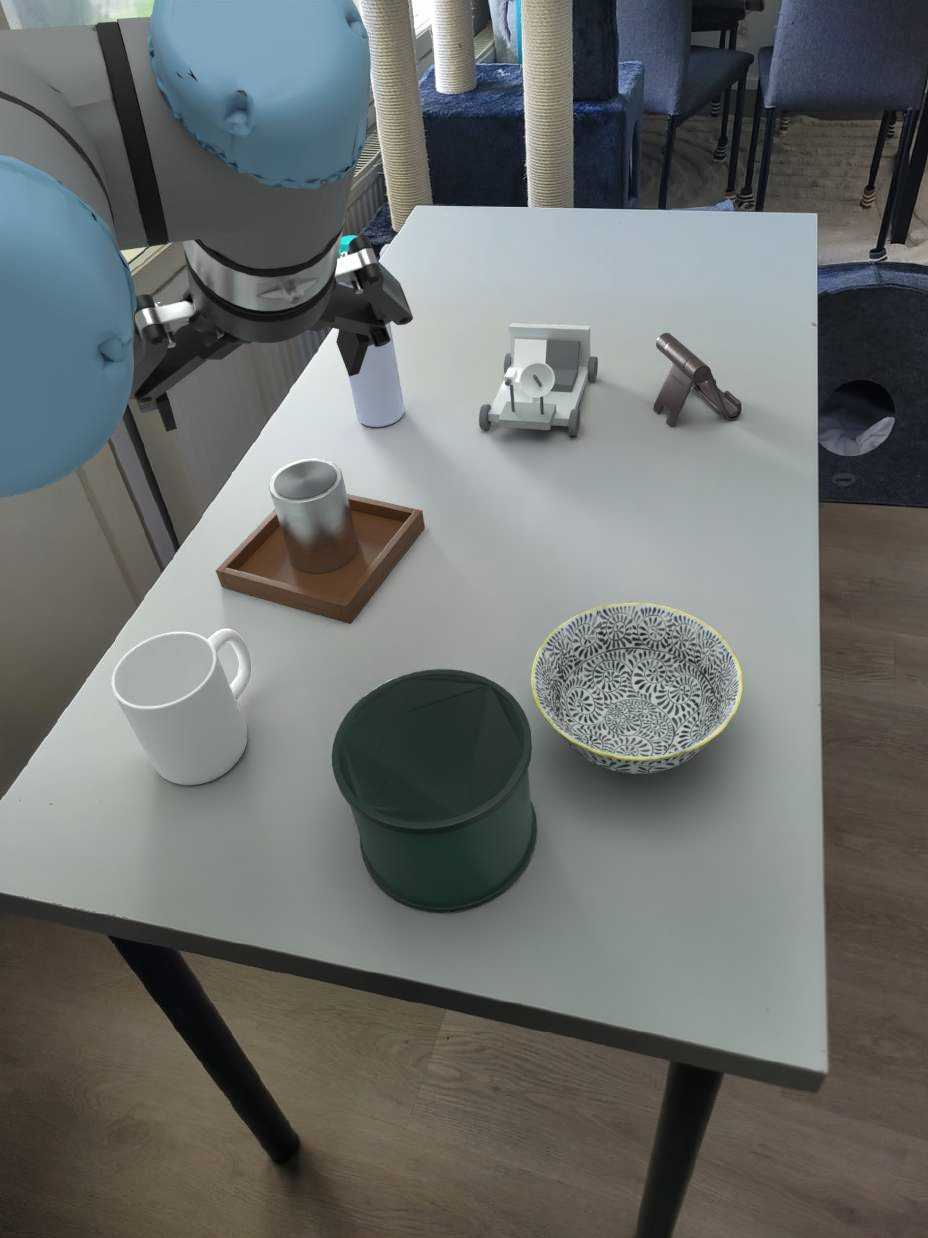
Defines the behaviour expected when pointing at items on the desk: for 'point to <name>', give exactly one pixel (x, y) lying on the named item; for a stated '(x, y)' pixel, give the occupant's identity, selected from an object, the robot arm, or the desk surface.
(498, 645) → the desk surface
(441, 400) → the desk surface
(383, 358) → the spray bottle
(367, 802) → the bucket
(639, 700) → the bowl
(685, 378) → the tablet stand
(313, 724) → the desk surface
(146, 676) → the cup
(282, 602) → the tray
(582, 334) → the toy car
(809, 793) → the desk surface
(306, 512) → the silver cup
